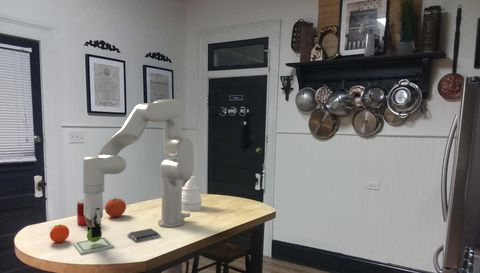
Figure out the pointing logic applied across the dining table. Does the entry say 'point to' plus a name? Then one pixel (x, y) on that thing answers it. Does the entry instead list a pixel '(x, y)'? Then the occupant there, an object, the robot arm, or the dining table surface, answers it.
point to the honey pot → (191, 196)
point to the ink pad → (143, 235)
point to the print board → (93, 245)
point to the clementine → (59, 233)
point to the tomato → (115, 207)
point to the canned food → (81, 213)
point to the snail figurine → (89, 234)
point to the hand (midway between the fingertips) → (94, 234)
